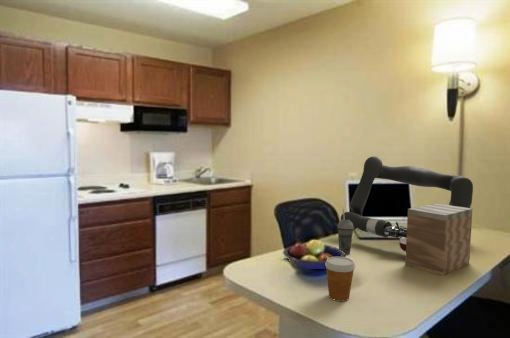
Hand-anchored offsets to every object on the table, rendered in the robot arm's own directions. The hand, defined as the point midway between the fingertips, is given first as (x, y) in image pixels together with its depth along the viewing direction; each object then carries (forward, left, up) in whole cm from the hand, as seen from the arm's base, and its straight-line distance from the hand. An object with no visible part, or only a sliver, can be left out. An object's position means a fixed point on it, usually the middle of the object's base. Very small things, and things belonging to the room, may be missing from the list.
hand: (413, 235), depth 160 cm
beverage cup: (+20, -21, -10) cm, 30 cm away
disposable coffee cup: (+58, +7, -10) cm, 59 cm away
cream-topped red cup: (0, -3, -7) cm, 8 cm away
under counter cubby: (0, +11, -10) cm, 14 cm away
